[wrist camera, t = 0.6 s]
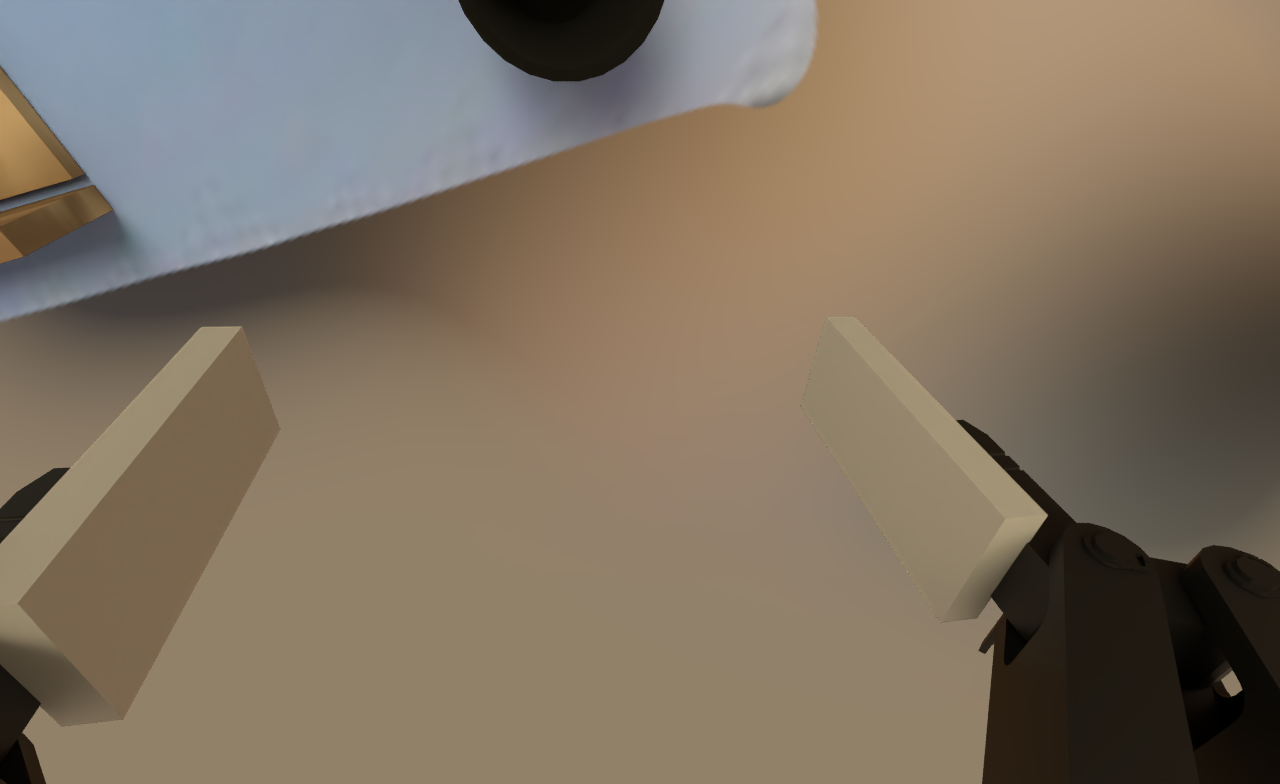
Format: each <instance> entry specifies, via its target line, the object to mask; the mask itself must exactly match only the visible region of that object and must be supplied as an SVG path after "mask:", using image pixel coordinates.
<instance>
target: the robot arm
mask: <svg viewBox="0 0 1280 784" xmlns="http://www.w3.org/2000/svg"><path fill="white" fill-rule="evenodd" d="M801 408H802V409H803V411H804V412H805V414H806V415H807V417H808V418H809V420H810V422H811V423H812V425H813V426H814V428H815V429H816V431H817V432H818V434H819V436H820V437H821V439H822V440H823V442H824V443H825V445H826V447H827V448H828V450H829V451H830V452H831V454H832V456H833V457H834V459H835V460H836V462H837V464H838V465H839V467H840V468H841V470H842V471H843V473H844V474H845V476H846V478H847V479H848V481H849V482H850V484H851V485H852V487H853V488H854V490H855V492H856V493H857V495H858V496H859V498H860V499H861V501H862V502H863V504H864V505H865V507H866V509H867V510H868V512H869V513H870V515H871V516H872V518H873V519H874V521H875V523H876V524H877V526H878V527H879V529H880V530H881V532H882V533H883V535H884V537H885V538H886V540H887V541H888V543H889V544H890V546H891V547H892V549H893V550H894V552H895V554H896V555H897V557H898V558H899V560H900V561H901V563H902V564H903V566H904V568H905V569H906V571H907V572H908V574H909V575H910V577H911V578H912V580H913V582H914V583H915V585H916V586H917V588H918V589H919V591H920V592H921V594H922V595H923V597H924V599H925V600H926V601H927V603H928V605H929V606H930V608H931V609H932V611H933V613H934V614H935V616H936V617H937V619H938V620H939V622H940V623H942V622H950V621H958V620H967V619H976V618H978V616H979V615H980V613H981V612H982V610H983V609H984V608H985V606H986V605H987V603H988V602H989V600H990V599H991V597H992V599H993V600H994V601H995V602H996V604H997V605H998V607H999V608H1000V609H1001V611H1002V612H1003V614H1002V616H1001V617H1000V619H999V620H998V621H997V623H996V624H995V626H994V627H993V628H992V630H991V631H990V633H989V634H988V635H987V637H986V638H985V639H984V641H983V642H982V644H981V646H980V649H979V651H980V652H982V653H984V654H985V653H986V652H987V651H988V649H989V648H990V647H991V645H993V644H994V655H993V665H992V678H991V689H990V700H989V711H988V724H987V734H986V747H985V757H984V768H983V781H982V784H1280V571H1278V570H1277V569H1275V568H1274V567H1273V566H1272V565H1270V564H1269V563H1267V562H1266V561H1264V560H1262V559H1258V557H1255V556H1253V555H1251V554H1248V553H1245V552H1242V551H1239V550H1236V549H1234V548H1230V547H1224V546H1215V545H1213V546H1209V547H1206V548H1203V549H1202V550H1201V551H1200V552H1199V553H1198V554H1197V555H1196V556H1195V557H1194V558H1193V559H1192V560H1191V561H1190V562H1189V563H1188V564H1183V563H1178V562H1173V561H1167V560H1162V559H1156V558H1151V557H1149V556H1148V555H1147V554H1146V553H1145V552H1144V551H1143V550H1142V549H1141V548H1140V547H1139V546H1137V545H1136V544H1134V543H1133V542H1132V541H1130V540H1129V539H1127V538H1126V537H1125V536H1122V535H1121V534H1119V533H1116V532H1114V531H1112V530H1110V529H1108V528H1105V527H1102V526H1098V525H1094V524H1091V523H1076V522H1075V521H1074V520H1073V519H1072V518H1071V517H1070V516H1069V515H1068V514H1067V513H1066V512H1065V511H1064V510H1063V509H1062V508H1061V507H1060V506H1059V505H1058V504H1057V503H1056V502H1055V501H1054V500H1053V499H1052V498H1051V497H1050V496H1049V495H1048V494H1047V493H1046V492H1045V491H1044V490H1043V489H1042V488H1041V487H1040V486H1039V485H1038V484H1037V483H1036V482H1035V481H1034V480H1033V479H1031V478H1030V476H1029V475H1028V474H1027V473H1026V472H1025V471H1023V470H1020V469H1019V465H1017V463H1015V462H1014V461H1013V460H1012V459H1011V458H1010V457H1009V456H1005V452H1004V451H1003V450H1002V449H1001V448H1000V447H999V446H998V445H997V444H996V443H995V442H994V441H993V440H992V439H991V438H990V437H989V436H988V435H987V434H985V433H984V432H982V431H981V430H979V429H977V428H976V427H974V426H972V425H971V424H969V423H968V422H966V421H964V420H955V419H954V418H953V417H952V416H951V415H950V414H949V413H948V412H947V411H946V410H945V409H944V408H943V407H942V406H941V405H940V404H939V403H938V402H937V401H936V400H935V399H934V398H933V397H932V396H931V395H930V394H929V393H928V392H927V390H926V389H925V388H923V386H922V385H921V384H920V383H919V382H918V381H917V380H916V379H915V378H914V377H913V376H912V375H911V374H910V373H909V372H908V371H907V370H906V369H905V368H904V367H903V366H902V365H901V364H900V363H899V362H898V361H897V360H896V359H895V358H894V357H893V356H892V355H891V354H890V353H889V351H887V349H885V348H884V346H883V345H882V344H881V343H880V342H879V341H878V340H877V339H876V338H875V337H874V336H873V335H872V334H871V333H870V332H869V331H868V330H867V329H866V328H865V327H864V326H863V325H862V324H861V323H860V322H859V321H858V320H857V319H856V318H855V317H826V319H825V322H824V326H823V330H822V333H821V336H820V340H819V343H818V347H817V351H816V354H815V357H814V361H813V364H812V368H811V371H810V375H809V378H808V382H807V385H806V389H805V392H804V396H803V399H802V403H801ZM279 431H280V427H279V424H278V421H277V419H276V416H275V413H274V411H273V408H272V405H271V403H270V400H269V397H268V395H267V392H266V390H265V387H264V384H263V381H262V379H261V376H260V373H259V371H258V368H257V365H256V363H255V360H254V357H253V354H252V352H251V349H250V346H249V344H248V341H247V338H246V336H245V333H244V331H243V328H242V326H240V327H239V326H238V327H201V328H200V329H199V330H198V331H197V332H196V333H195V334H194V335H193V336H192V337H191V339H190V340H189V341H188V342H187V343H186V344H185V345H184V346H183V347H182V348H181V349H180V350H179V352H178V353H177V354H176V355H175V356H174V357H173V358H172V359H171V360H170V361H169V362H168V363H167V365H166V366H165V367H164V368H163V369H162V370H161V371H160V372H159V373H158V374H157V375H156V376H155V377H154V378H153V380H152V381H151V382H150V383H149V384H148V385H147V386H146V387H145V388H144V389H143V390H142V392H141V393H140V394H139V395H138V396H137V397H136V398H135V399H134V400H133V401H132V402H131V403H130V404H129V406H128V407H127V408H126V409H125V410H124V411H123V412H122V413H121V414H120V415H119V416H118V418H116V420H115V421H114V422H113V423H112V424H111V425H110V426H109V427H108V428H107V429H106V430H105V431H104V432H103V433H102V435H101V436H100V437H99V438H98V439H97V440H96V441H95V442H94V443H93V444H92V445H91V446H90V447H89V449H88V450H87V451H86V452H85V453H84V454H83V455H82V456H81V457H80V458H79V459H78V460H77V462H76V463H75V464H74V465H73V466H72V467H71V468H54V469H52V470H51V471H49V472H48V473H46V474H44V475H43V476H41V477H40V478H38V479H36V480H35V481H33V482H32V483H30V484H29V485H27V486H26V487H24V488H22V489H21V490H19V491H18V492H16V493H15V494H14V495H13V496H12V497H11V498H10V500H9V501H7V503H6V504H5V505H4V506H2V508H1V509H0V784H46V782H45V779H44V776H43V773H42V769H41V767H40V763H39V760H38V757H37V754H36V751H35V748H34V745H33V744H32V742H31V741H30V740H29V739H28V738H27V737H26V736H25V735H24V734H23V733H22V732H23V730H24V729H25V727H26V726H27V724H28V723H29V721H30V719H31V718H32V717H33V715H34V714H35V712H36V710H37V709H38V708H39V706H40V707H41V708H43V709H44V710H45V711H46V712H47V713H48V714H49V715H50V716H51V717H52V718H53V719H54V720H55V721H56V722H57V723H58V724H59V725H61V726H62V727H63V726H71V725H80V724H88V723H97V722H105V721H113V720H122V719H124V717H125V715H126V714H127V712H128V710H129V708H130V706H131V704H132V702H133V701H134V699H135V697H136V695H137V693H138V691H139V689H140V688H141V686H142V684H143V682H144V680H145V678H146V677H147V674H148V673H149V671H150V669H151V667H152V665H153V664H154V662H155V660H156V658H157V656H158V654H159V652H160V651H161V649H162V647H163V645H164V643H165V641H166V640H167V638H168V636H169V634H170V632H171V630H172V628H173V627H174V625H175V623H176V621H177V619H178V617H179V615H180V613H181V612H182V610H183V608H184V606H185V604H186V603H187V601H188V599H189V597H190V595H191V593H192V592H193V590H194V588H195V586H196V584H197V582H198V581H199V579H200V577H201V575H202V573H203V571H204V569H205V568H206V566H207V564H208V562H209V560H210V558H211V556H212V555H213V553H214V551H215V549H216V547H217V545H218V544H219V542H220V540H221V538H222V536H223V534H224V532H225V531H226V529H227V527H228V525H229V523H230V521H231V520H232V518H233V516H234V514H235V512H236V510H237V508H238V506H239V505H240V503H241V501H242V499H243V497H244V496H245V494H246V492H247V490H248V488H249V486H250V484H251V482H252V481H253V479H254V477H255V475H256V473H257V472H258V470H259V468H260V466H261V464H262V462H263V460H264V459H265V457H266V455H267V453H268V451H269V449H270V447H271V446H272V444H273V442H274V440H275V438H276V436H277V435H278V433H279ZM1232 670H1233V672H1234V673H1235V675H1236V676H1237V679H1238V680H1239V682H1240V684H1241V687H1242V689H1243V690H1242V691H1240V692H1239V693H1238V694H1237V695H1235V696H1232V697H1231V696H1230V694H1229V693H1228V692H1227V690H1226V689H1225V687H1224V685H1223V683H1222V681H1221V679H1222V678H1224V677H1225V676H1226V675H1227V674H1229V673H1230V672H1231V671H1232Z"/></svg>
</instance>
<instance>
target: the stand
mask: <svg viewBox="0 0 1280 784" xmlns="http://www.w3.org/2000/svg"><path fill="white" fill-rule="evenodd" d="M83 174H85V173H84V172H83V171H82V170H81V168H80V167H79V166H78V165H77V163H76V162H75V161H74V160H73V158H72V157H71V156H70V155H69V153H68V152H67V151H66V149H65V148H64V147H63V146H62V144H61V143H60V142H59V141H58V139H57V138H56V137H55V136H54V134H53V133H52V132H51V130H50V129H49V128H48V127H47V125H46V124H45V123H44V122H43V120H42V119H41V118H40V117H39V115H38V114H37V113H36V112H35V110H34V109H33V108H32V106H31V105H30V104H29V103H28V101H27V100H26V99H25V98H24V96H23V95H22V94H21V93H20V91H19V90H18V89H17V88H16V86H15V85H14V84H13V82H12V81H11V80H10V79H9V77H8V76H7V75H6V74H5V72H4V71H3V70H2V69H1V67H0V200H1V199H5V198H8V197H11V196H15V195H18V194H22V193H25V192H29V191H32V190H36V189H39V188H43V187H46V186H49V185H53V184H56V183H60V182H63V181H67V180H70V179H73V178H76V177H78V176H81V175H83ZM112 210H113V209H112V208H111V206H110V205H109V204H108V203H107V201H106V200H105V199H104V197H103V196H102V195H101V194H100V192H99V191H98V190H97V189H96V187H95V186H94V185H91V186H88V187H85V188H81V189H78V190H74V191H71V192H67V193H64V194H60V195H57V196H53V197H50V198H46V199H43V200H40V201H36V202H33V203H29V204H26V205H22V206H19V207H15V208H12V209H8V210H5V211H1V212H0V263H3V262H7V261H10V260H14V259H17V258H21V257H24V256H26V255H28V254H30V253H32V252H34V251H36V250H37V249H39V248H41V247H43V246H45V245H47V244H49V243H51V242H53V241H55V240H57V239H58V238H60V237H62V236H64V235H66V234H68V233H70V232H72V231H74V230H76V229H77V228H79V227H81V226H83V225H85V224H87V223H89V222H91V221H93V220H95V219H96V218H98V217H100V216H102V215H104V214H106V213H108V212H110V211H112Z"/></svg>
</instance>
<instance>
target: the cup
mask: <svg viewBox="0 0 1280 784" xmlns="http://www.w3.org/2000/svg"><path fill="white" fill-rule="evenodd" d="M459 3H460V5H461V7H462V9H463V11H464V14H465V15H466V17H467V18H468V20H469V21H470V22H471V24H472V25H473V27H474V28H475V29H476V31H477V32H478V34H479V35H480V36H481V38H482V39H483V41H484V42H486V43H487V44H488V45H489V46H490V47H491V48H492V49H493V50H494V51H495V52H496V53H497V54H499V55H500V56H501V57H502V58H503V59H504V60H505V61H507V62H508V63H510V64H512V65H514V66H515V67H517V68H519V69H521V70H522V71H524V72H526V73H528V74H530V75H534V76H537V77H541V78H544V79H548V80H551V81H582V80H586V79H589V78H593V77H597V76H600V75H603V74H605V73H607V72H608V71H610V70H612V69H613V68H615V67H617V66H618V65H620V64H622V63H623V62H625V61H626V60H627V59H628V58H629V57H630V56H631V55H632V54H633V53H634V52H635V51H636V50H637V49H638V48H639V47H640V46H641V45H642V44H643V42H644V41H645V39H646V37H647V36H648V34H649V32H650V31H651V29H652V28H653V26H654V24H655V23H656V21H657V19H658V17H659V14H660V11H661V8H662V5H663V3H664V0H459Z"/></svg>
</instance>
